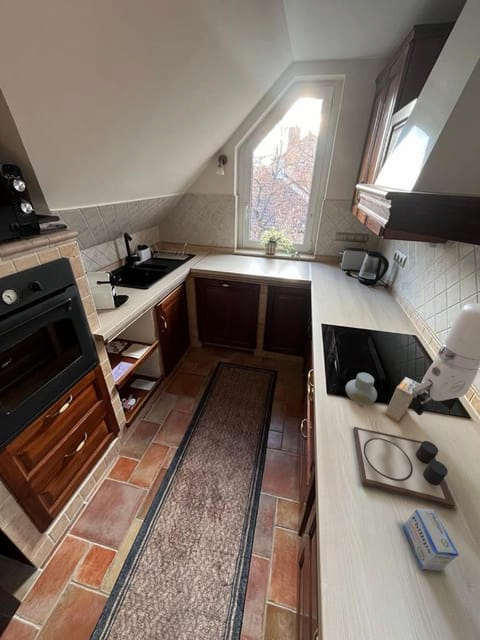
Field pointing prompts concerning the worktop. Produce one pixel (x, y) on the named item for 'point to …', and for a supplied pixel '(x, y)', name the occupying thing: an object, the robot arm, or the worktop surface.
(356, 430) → the sketch board
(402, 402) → the supplement box
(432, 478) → the cylinder
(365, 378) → the air freshener
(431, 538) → the medicine box
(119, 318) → the worktop surface
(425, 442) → the cylinder
